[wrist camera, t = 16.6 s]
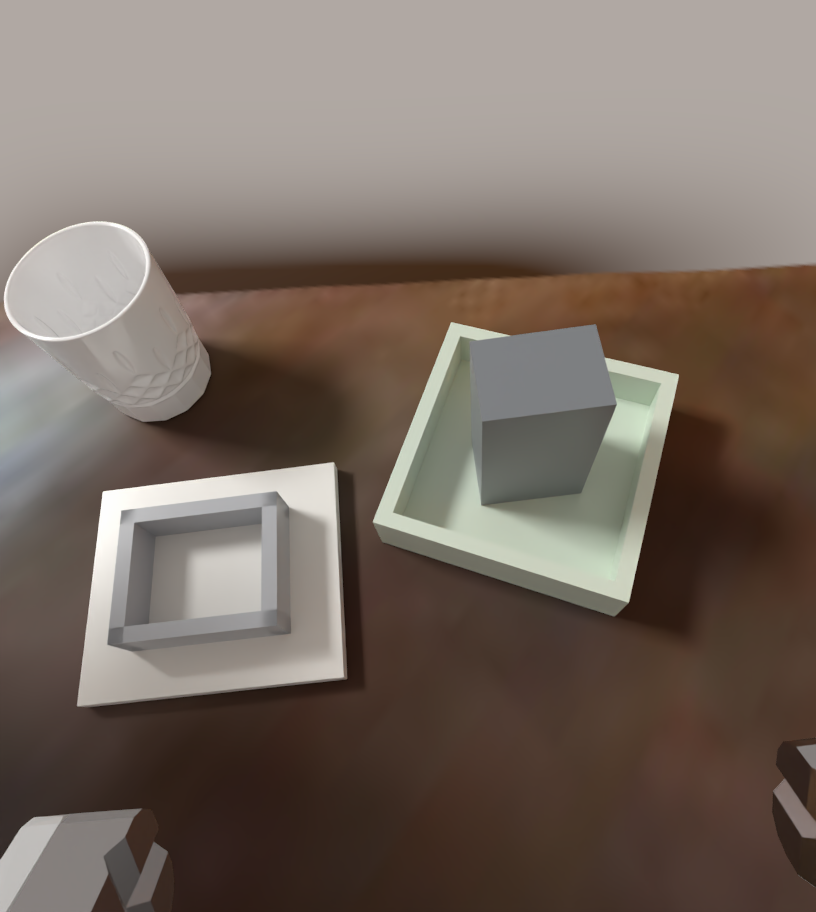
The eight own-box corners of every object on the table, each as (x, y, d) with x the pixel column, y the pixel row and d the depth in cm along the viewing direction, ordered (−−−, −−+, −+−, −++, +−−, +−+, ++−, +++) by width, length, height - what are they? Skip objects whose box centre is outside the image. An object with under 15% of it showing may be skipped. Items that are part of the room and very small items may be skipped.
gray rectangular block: (481, 505, 35) (482, 421, 26) (471, 437, 37) (468, 337, 28) (581, 493, 35) (617, 404, 26) (565, 426, 37) (594, 320, 28)
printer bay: (87, 707, 34) (47, 703, 31) (111, 497, 39) (79, 475, 36) (347, 679, 33) (333, 671, 30) (337, 469, 38) (324, 444, 35)
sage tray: (382, 541, 36) (372, 522, 33) (453, 355, 41) (451, 322, 37) (614, 616, 33) (628, 602, 30) (662, 406, 38) (678, 374, 34)
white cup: (197, 439, 40) (114, 349, 31) (86, 422, 41) (-24, 331, 32) (236, 336, 43) (171, 227, 34) (131, 323, 44) (43, 215, 35)
